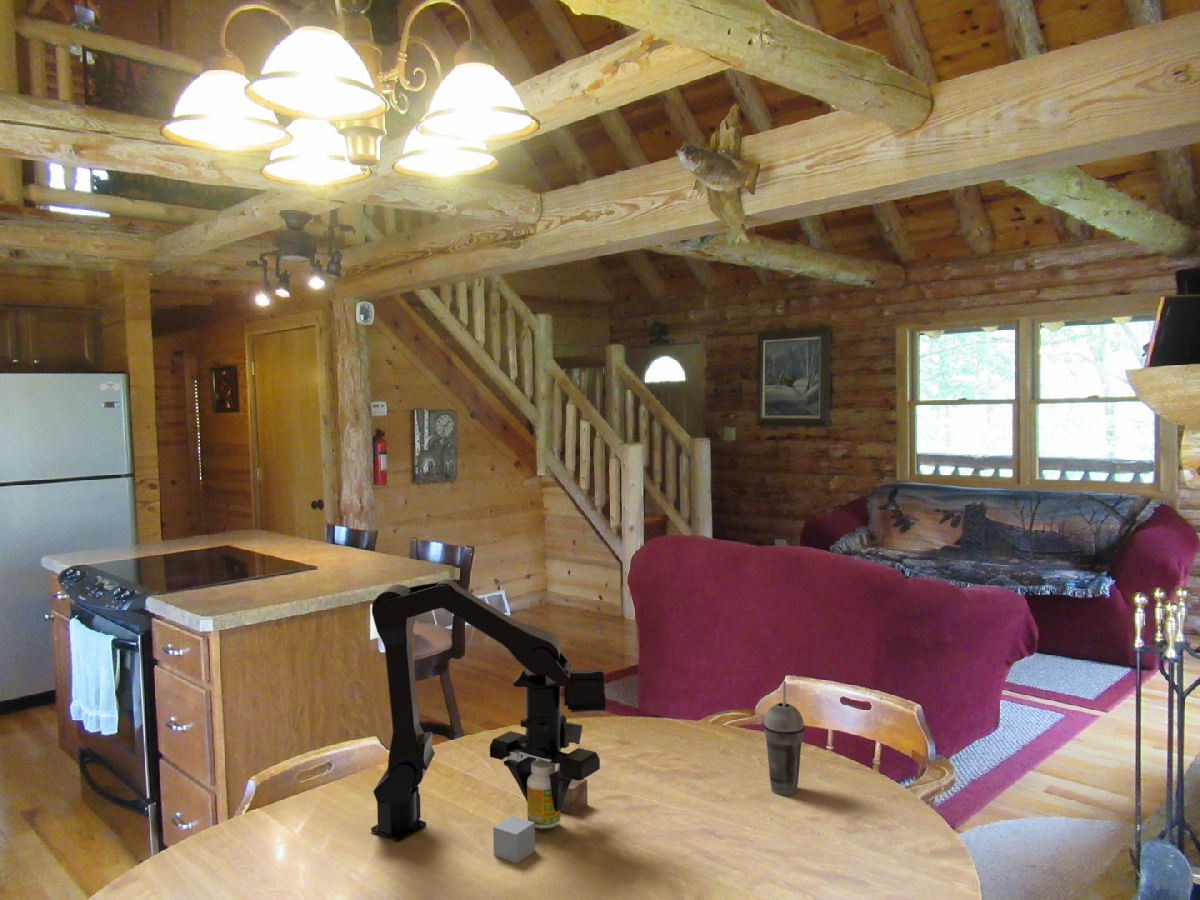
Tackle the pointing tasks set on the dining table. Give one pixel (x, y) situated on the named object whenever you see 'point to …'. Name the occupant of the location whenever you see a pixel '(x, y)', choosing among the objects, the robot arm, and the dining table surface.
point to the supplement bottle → (541, 795)
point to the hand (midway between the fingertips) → (544, 806)
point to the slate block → (514, 839)
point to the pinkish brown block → (575, 797)
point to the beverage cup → (784, 746)
